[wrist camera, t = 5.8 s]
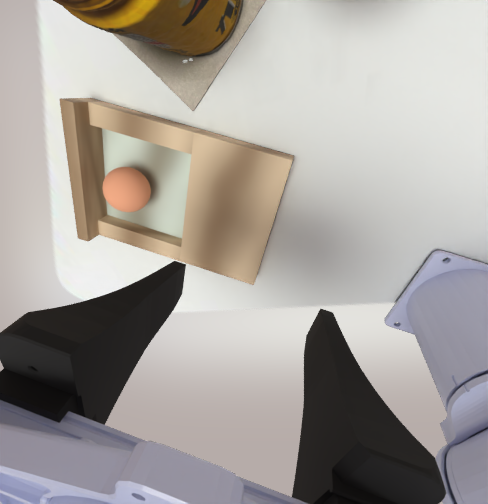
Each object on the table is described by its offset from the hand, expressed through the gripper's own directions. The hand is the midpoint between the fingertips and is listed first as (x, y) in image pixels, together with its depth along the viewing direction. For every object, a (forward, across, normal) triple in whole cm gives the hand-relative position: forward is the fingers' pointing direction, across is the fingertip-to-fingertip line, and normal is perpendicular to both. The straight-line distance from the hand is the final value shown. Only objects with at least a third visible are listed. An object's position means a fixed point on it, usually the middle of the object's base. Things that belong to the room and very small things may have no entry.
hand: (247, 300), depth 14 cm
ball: (+8, +12, 0) cm, 14 cm away
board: (+10, +8, 0) cm, 13 cm away
